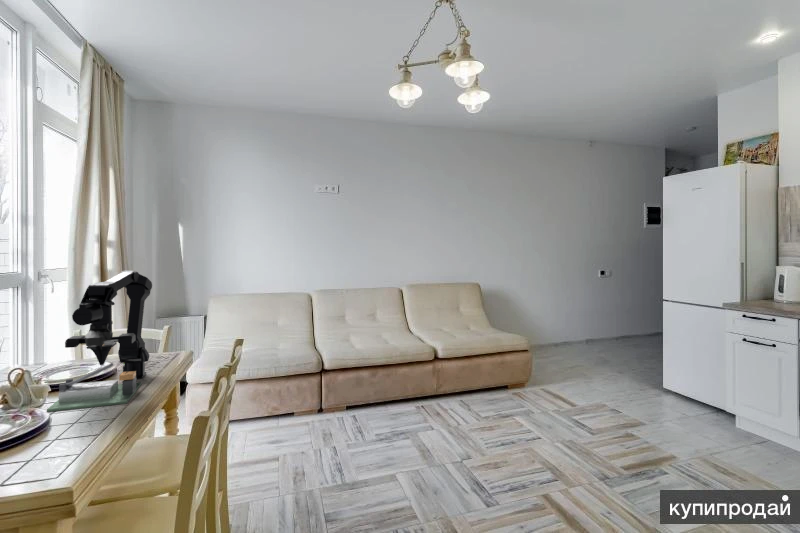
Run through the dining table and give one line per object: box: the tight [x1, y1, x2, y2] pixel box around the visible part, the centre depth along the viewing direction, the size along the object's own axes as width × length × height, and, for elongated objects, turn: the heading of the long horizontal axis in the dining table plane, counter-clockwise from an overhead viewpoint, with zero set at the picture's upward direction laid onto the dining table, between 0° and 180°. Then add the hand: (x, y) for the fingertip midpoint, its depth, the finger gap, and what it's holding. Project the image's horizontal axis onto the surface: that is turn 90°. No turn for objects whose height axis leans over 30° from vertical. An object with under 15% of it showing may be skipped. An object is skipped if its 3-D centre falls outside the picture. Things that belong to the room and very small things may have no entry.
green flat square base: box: [46, 376, 142, 413], centre depth 135 cm, size 21×20×6 cm
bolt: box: [118, 371, 136, 382], centre depth 138 cm, size 4×4×2 cm
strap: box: [67, 362, 114, 387], centre depth 134 cm, size 14×4×1 cm, turn 111°
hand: (102, 364), depth 135 cm, fingers closed
